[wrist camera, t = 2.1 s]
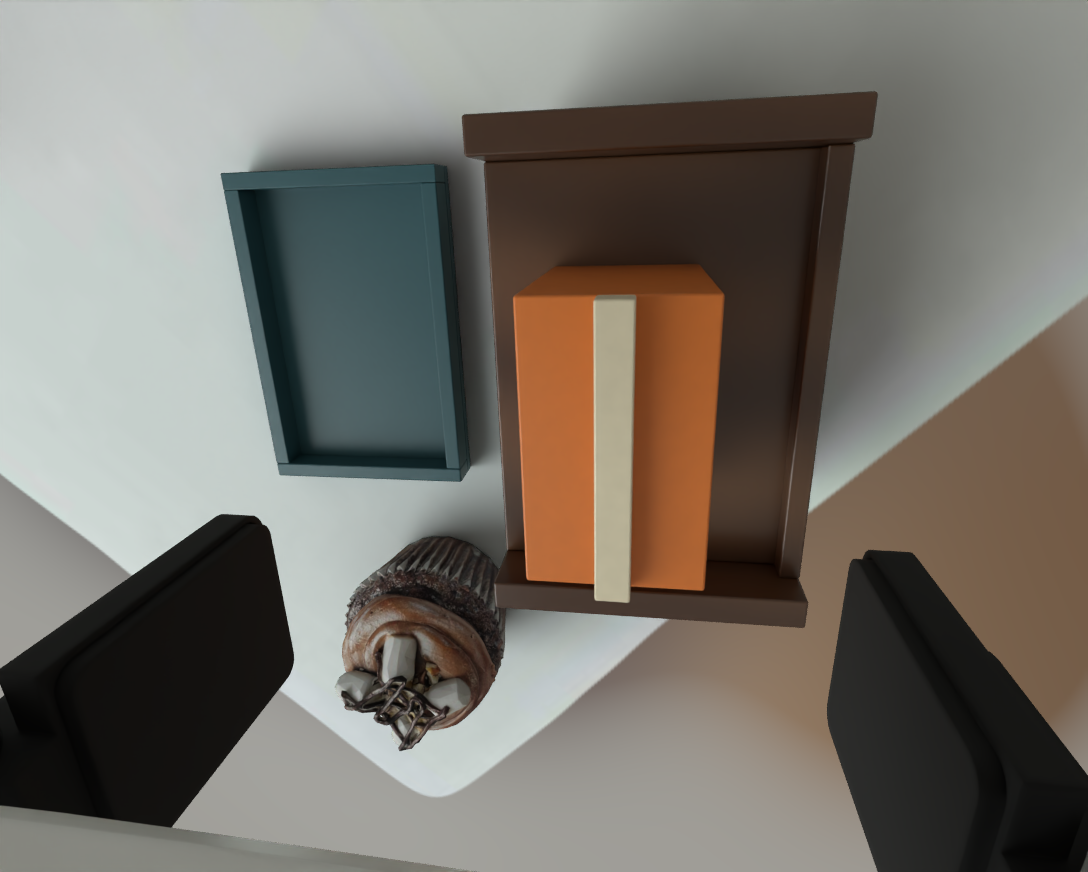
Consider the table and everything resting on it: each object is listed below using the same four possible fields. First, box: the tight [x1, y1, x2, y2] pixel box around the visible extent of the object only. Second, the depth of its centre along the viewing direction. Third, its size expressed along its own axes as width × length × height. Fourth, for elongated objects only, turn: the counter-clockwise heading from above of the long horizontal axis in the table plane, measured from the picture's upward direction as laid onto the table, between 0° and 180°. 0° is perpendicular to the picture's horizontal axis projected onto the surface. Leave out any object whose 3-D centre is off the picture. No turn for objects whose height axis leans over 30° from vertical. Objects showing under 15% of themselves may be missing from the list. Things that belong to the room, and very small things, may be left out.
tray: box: [221, 164, 470, 482], centre depth 34 cm, size 17×11×2 cm
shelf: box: [462, 91, 878, 628], centre depth 27 cm, size 18×12×12 cm, turn 2°
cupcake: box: [335, 536, 506, 751], centre depth 36 cm, size 10×10×10 cm
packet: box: [513, 264, 725, 603], centre depth 20 cm, size 8×5×8 cm, turn 2°
